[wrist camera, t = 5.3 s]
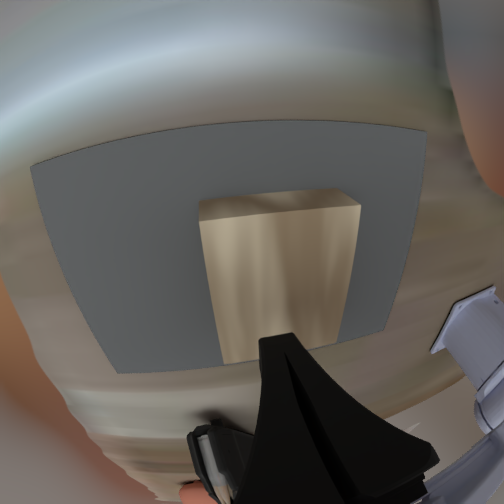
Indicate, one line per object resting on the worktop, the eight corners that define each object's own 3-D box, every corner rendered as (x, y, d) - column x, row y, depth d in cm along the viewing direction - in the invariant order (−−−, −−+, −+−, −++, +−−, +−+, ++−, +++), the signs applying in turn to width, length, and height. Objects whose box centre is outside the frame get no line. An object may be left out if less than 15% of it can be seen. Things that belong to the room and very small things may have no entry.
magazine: (309, 498, 32) (264, 567, 9) (292, 503, 32) (229, 569, 10) (281, 423, 43) (210, 412, 21) (265, 428, 43) (179, 419, 21)
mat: (423, 131, 13) (427, 132, 12) (381, 327, 21) (383, 330, 21) (32, 165, 10) (29, 166, 10) (118, 370, 18) (117, 373, 18)
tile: (361, 205, 11) (198, 221, 10) (335, 342, 16) (224, 364, 15) (336, 188, 13) (199, 200, 13) (322, 316, 18) (220, 334, 17)
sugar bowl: (183, 477, 38) (188, 520, 29) (249, 477, 42) (258, 516, 34) (174, 486, 43) (178, 521, 34) (230, 487, 47) (237, 520, 38)
